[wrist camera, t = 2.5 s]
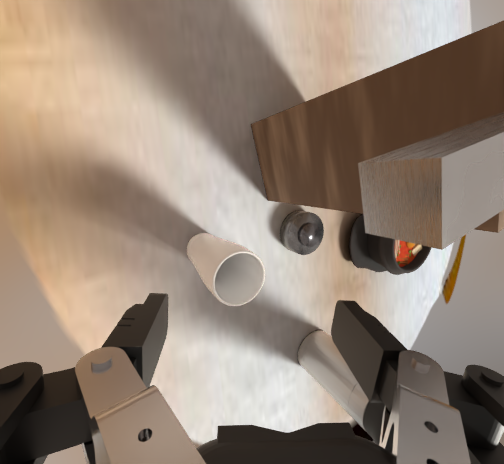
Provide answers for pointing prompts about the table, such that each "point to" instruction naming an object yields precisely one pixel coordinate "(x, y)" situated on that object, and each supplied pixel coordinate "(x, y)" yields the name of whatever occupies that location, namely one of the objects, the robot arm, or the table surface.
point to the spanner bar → (436, 185)
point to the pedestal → (379, 121)
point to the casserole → (384, 251)
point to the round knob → (301, 232)
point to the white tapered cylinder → (226, 268)
